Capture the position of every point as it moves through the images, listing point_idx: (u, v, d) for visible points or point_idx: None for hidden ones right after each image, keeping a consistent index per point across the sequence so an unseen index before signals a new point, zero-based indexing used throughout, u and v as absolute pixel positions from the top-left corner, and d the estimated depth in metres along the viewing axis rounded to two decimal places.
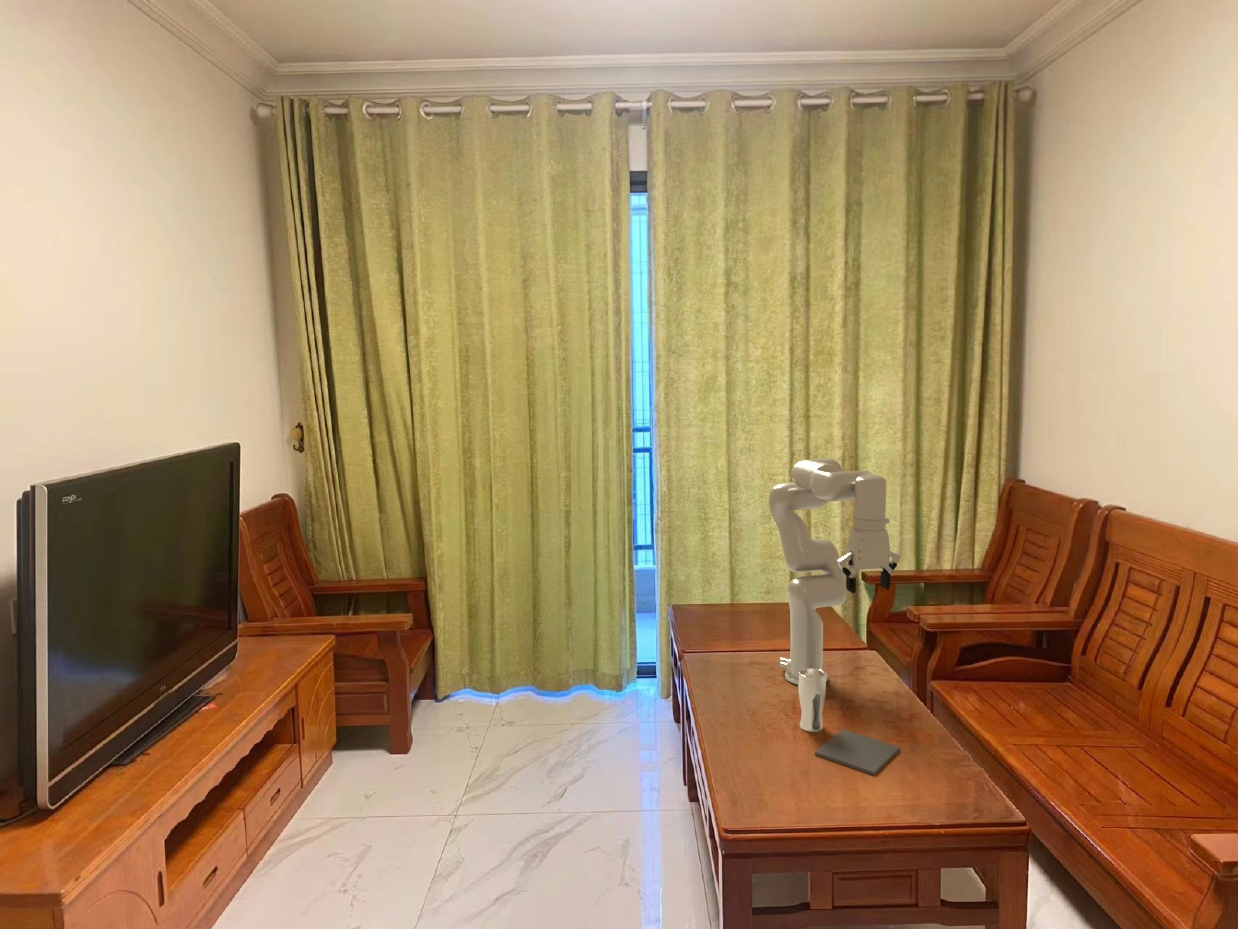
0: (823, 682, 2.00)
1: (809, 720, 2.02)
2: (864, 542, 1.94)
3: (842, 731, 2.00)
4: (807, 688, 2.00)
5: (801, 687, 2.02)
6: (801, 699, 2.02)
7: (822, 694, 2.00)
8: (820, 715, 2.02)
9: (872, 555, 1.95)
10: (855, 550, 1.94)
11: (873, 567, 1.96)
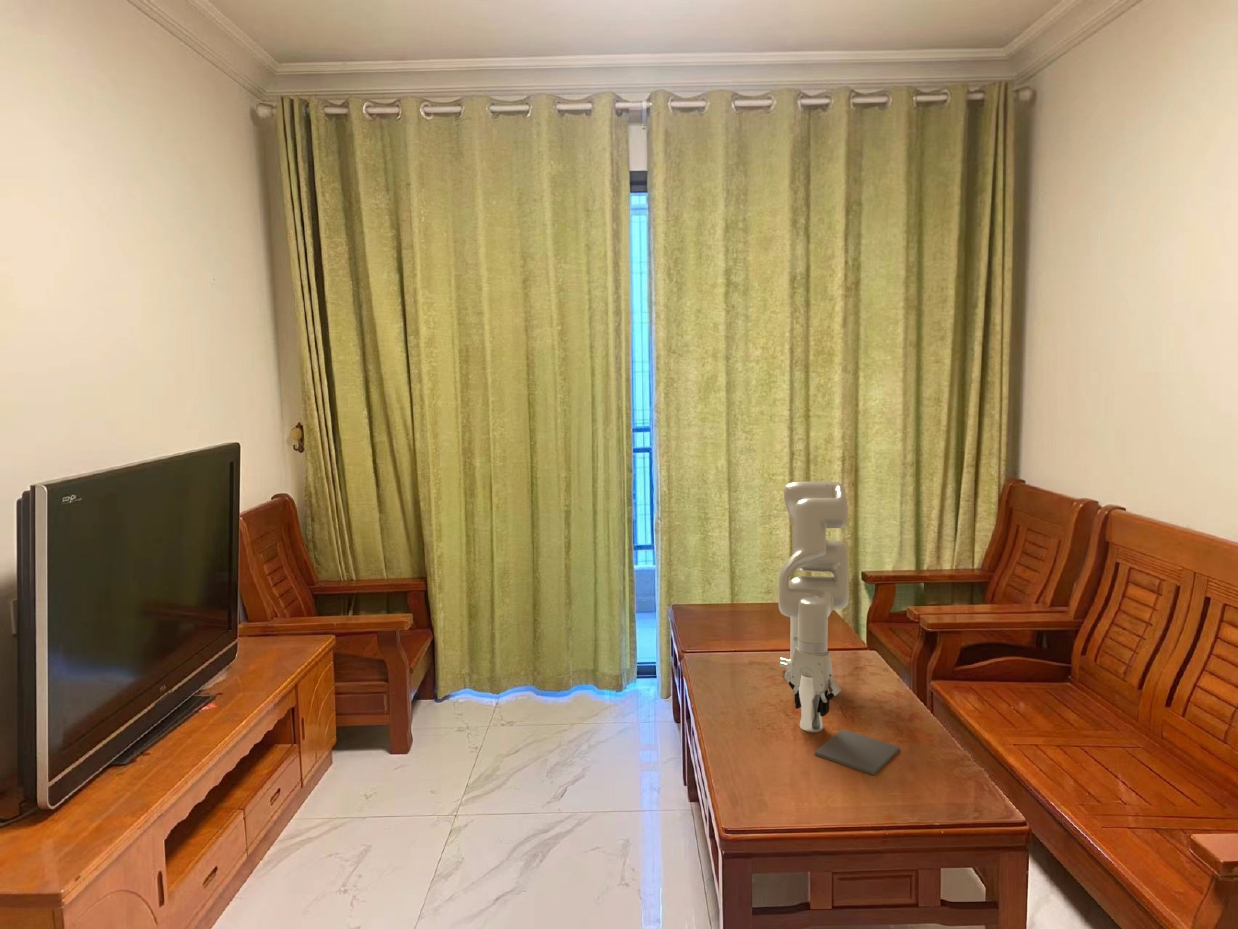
0: None
1: (809, 721, 2.02)
2: None
3: (842, 731, 2.00)
4: (807, 688, 2.00)
5: (801, 687, 2.02)
6: (801, 699, 2.02)
7: None
8: (820, 715, 2.02)
9: None
10: None
11: None
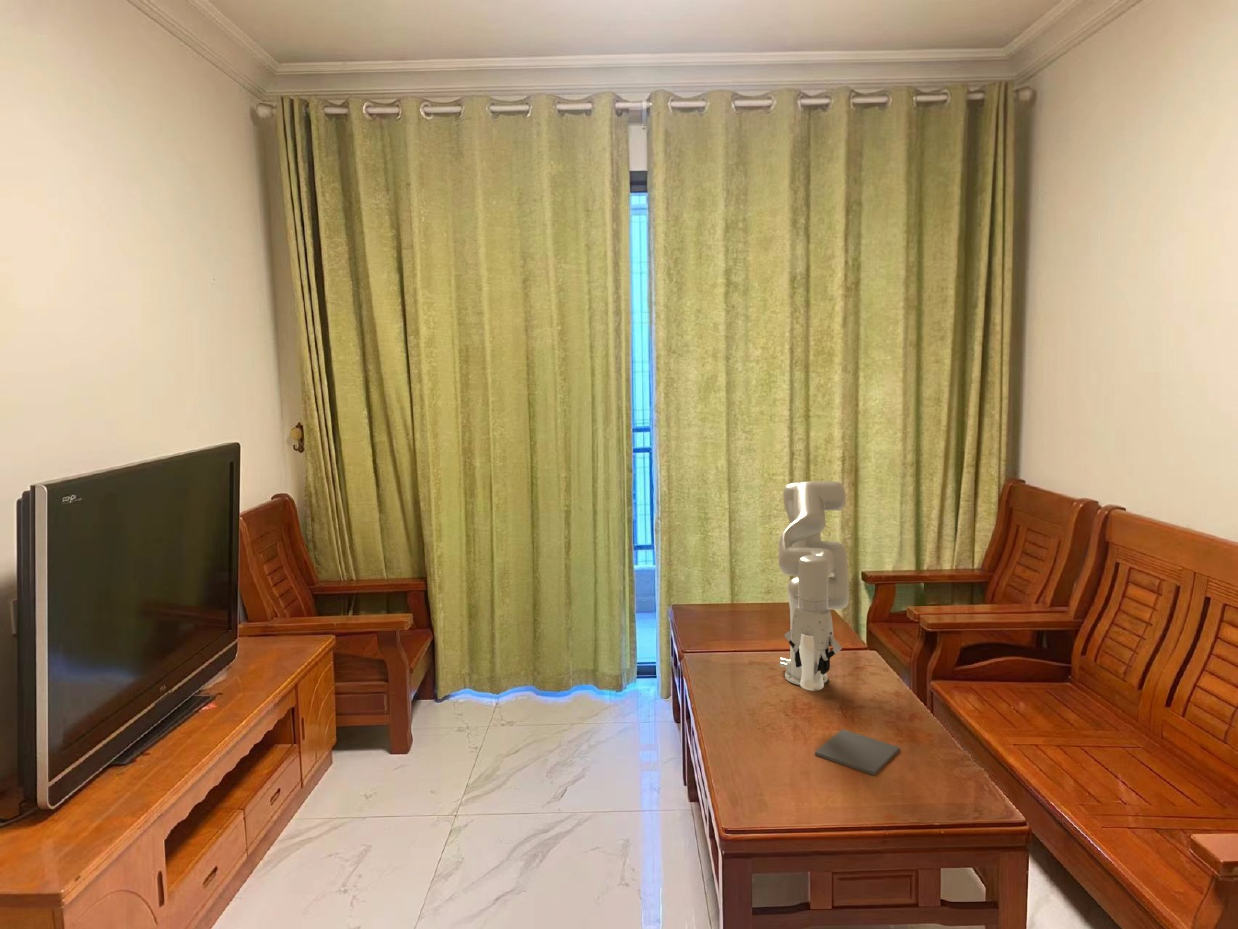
0: None
1: (809, 679, 2.01)
2: None
3: (842, 731, 2.00)
4: (807, 646, 1.99)
5: (801, 645, 2.00)
6: (801, 657, 2.01)
7: None
8: (820, 673, 2.01)
9: None
10: (832, 628, 1.99)
11: None
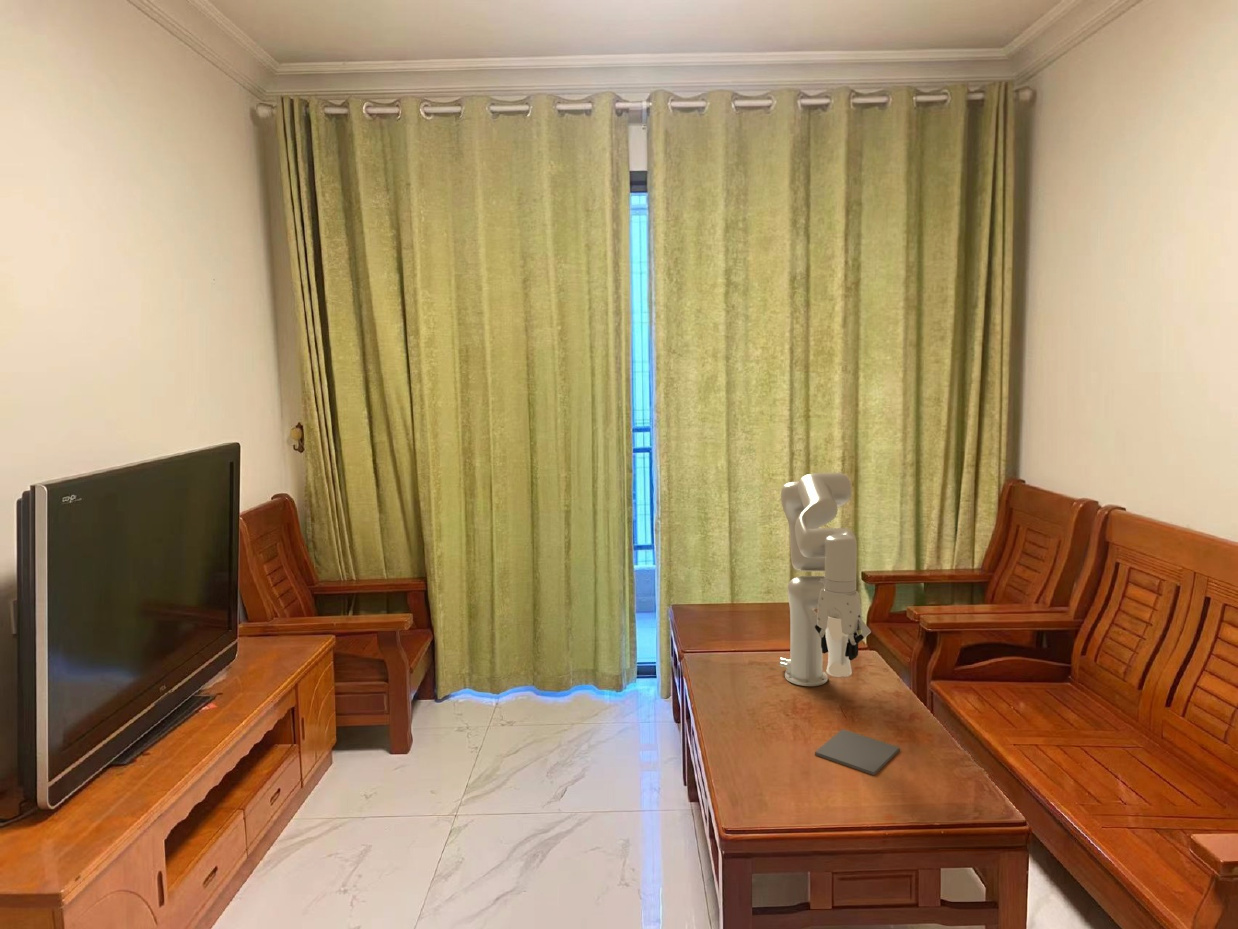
0: None
1: (836, 665, 1.91)
2: None
3: (842, 731, 2.00)
4: (834, 630, 1.89)
5: (828, 629, 1.91)
6: (828, 642, 1.92)
7: None
8: (848, 659, 1.91)
9: None
10: None
11: None
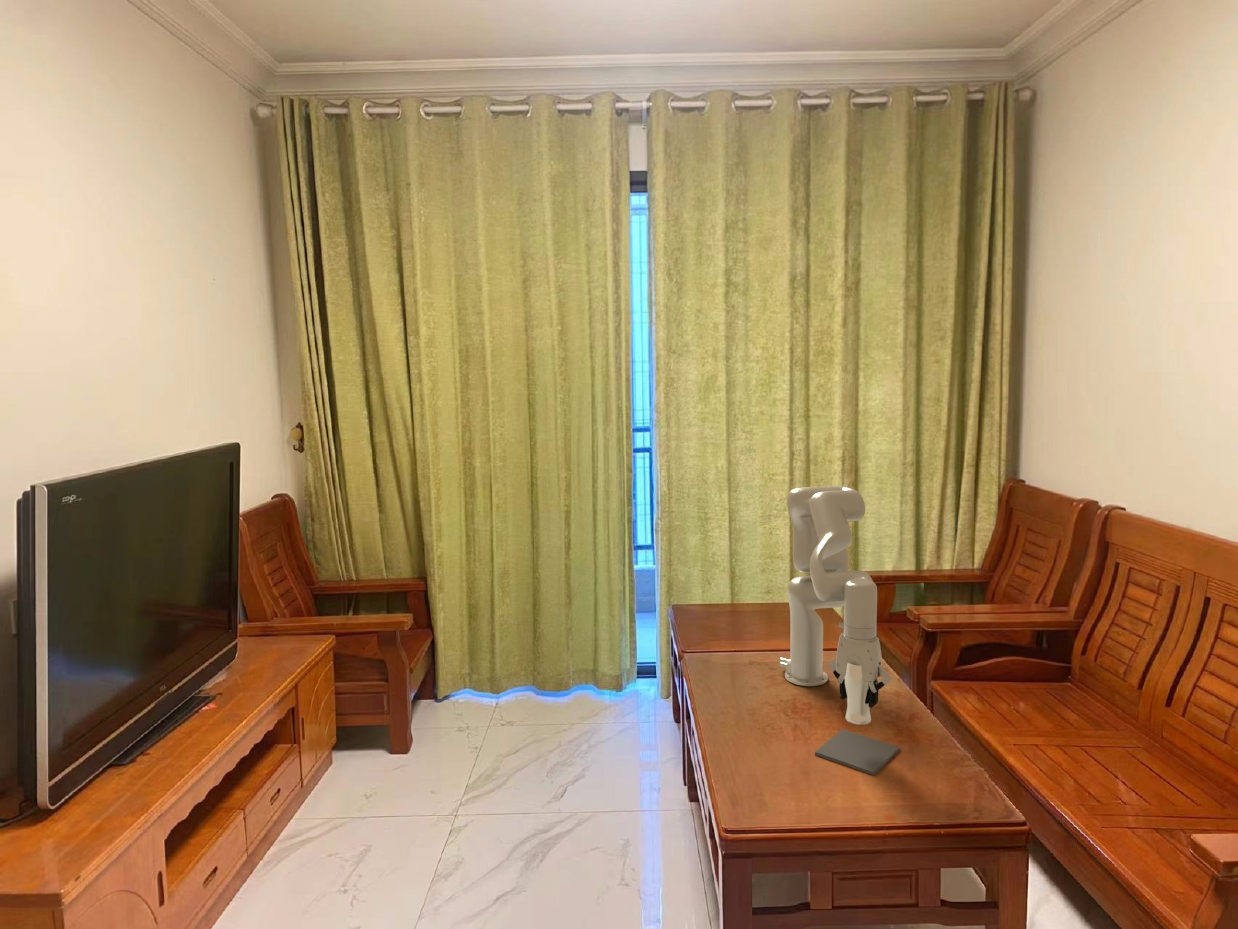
0: None
1: (856, 712, 1.87)
2: None
3: (842, 731, 2.00)
4: (854, 677, 1.85)
5: (848, 676, 1.87)
6: (847, 689, 1.87)
7: None
8: (868, 706, 1.87)
9: None
10: (881, 658, 1.85)
11: None
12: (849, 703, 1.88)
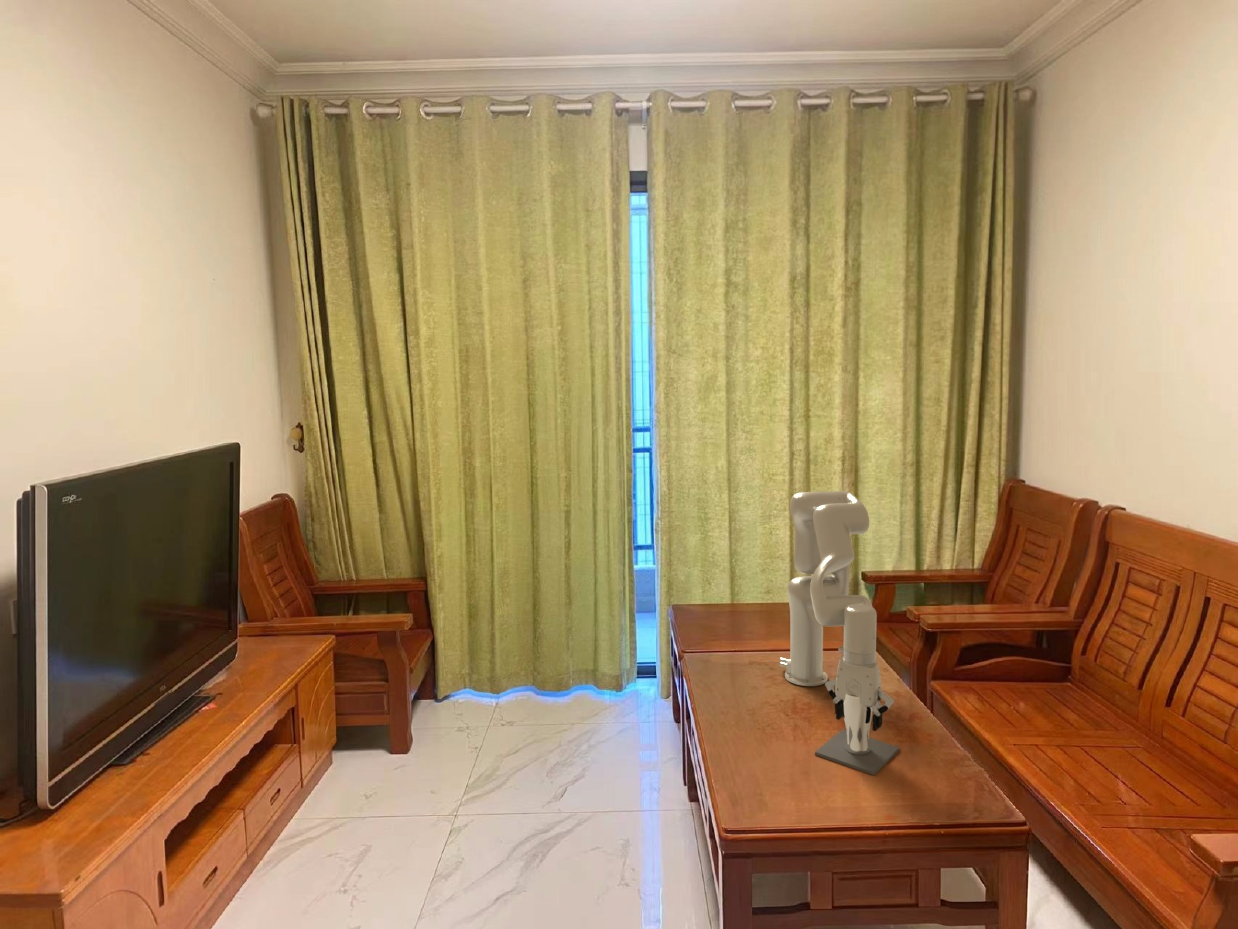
0: None
1: (855, 742, 1.89)
2: None
3: (842, 731, 2.00)
4: (853, 708, 1.87)
5: (846, 707, 1.88)
6: (846, 720, 1.89)
7: (869, 714, 1.87)
8: (867, 736, 1.89)
9: None
10: (880, 683, 1.86)
11: None
12: (848, 733, 1.89)
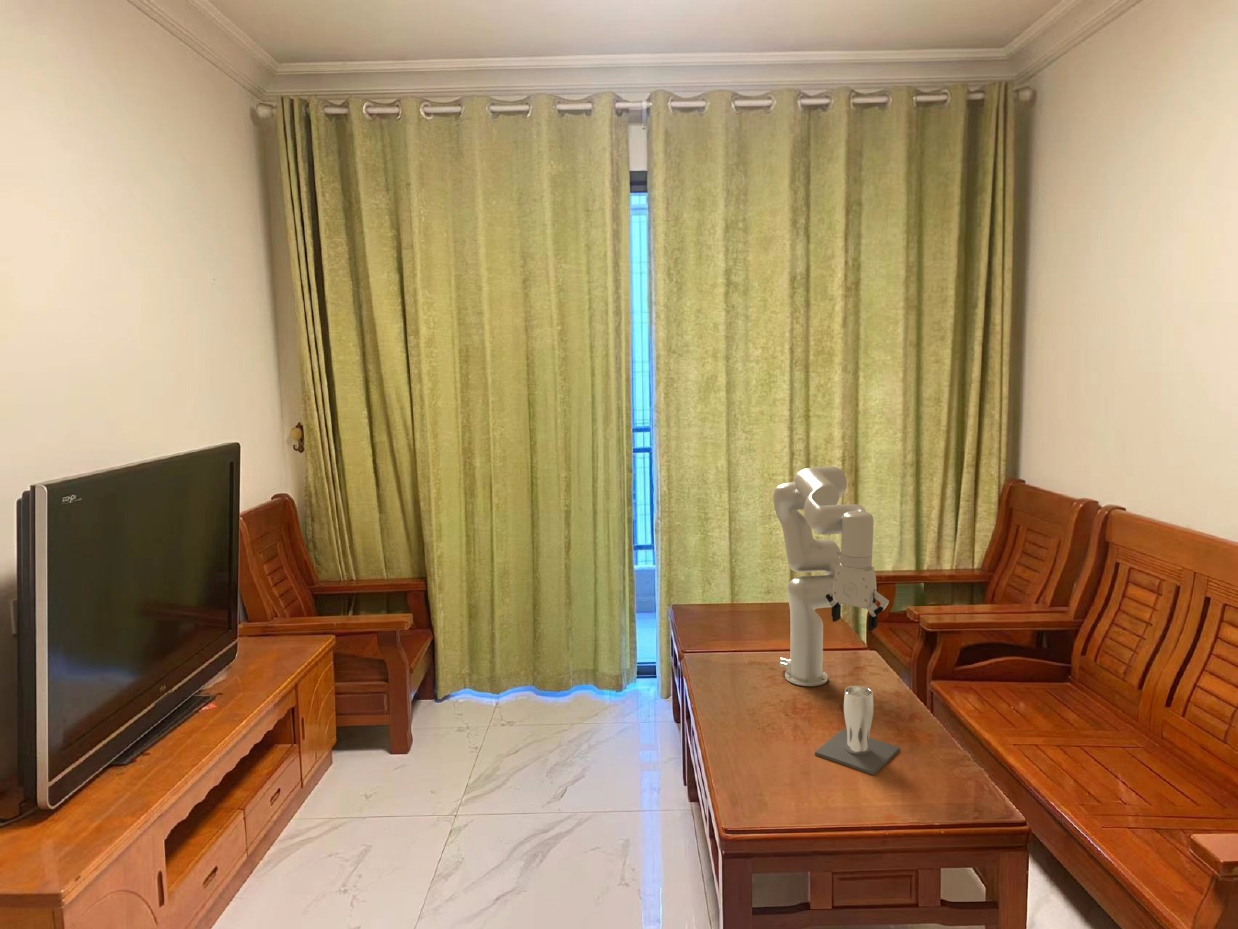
0: (871, 701, 1.87)
1: (855, 743, 1.89)
2: None
3: (842, 731, 2.00)
4: (854, 708, 1.87)
5: (847, 707, 1.88)
6: (847, 720, 1.89)
7: (870, 714, 1.87)
8: (867, 737, 1.89)
9: None
10: (876, 586, 1.94)
11: None
12: (849, 733, 1.89)
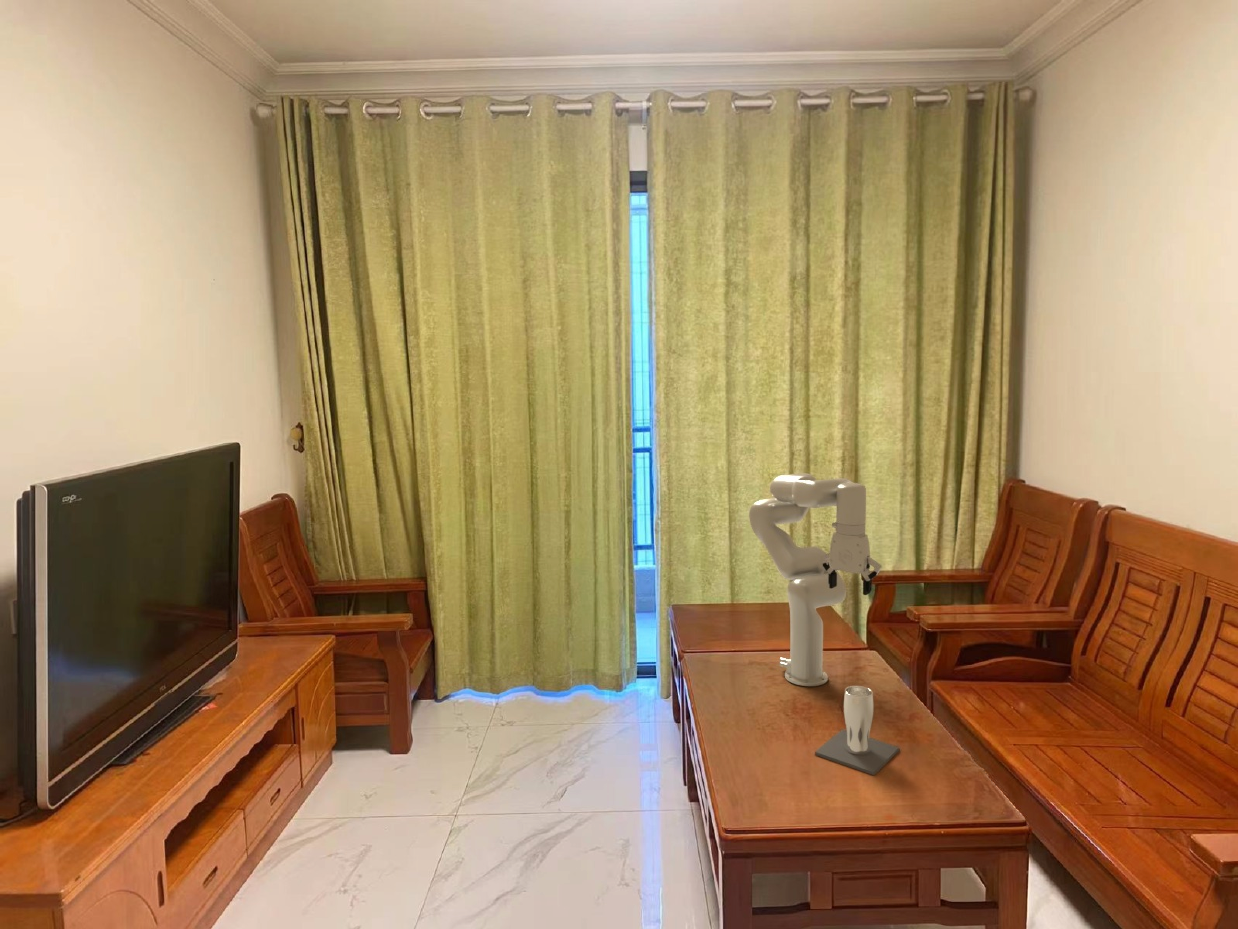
0: (871, 701, 1.87)
1: (855, 743, 1.89)
2: None
3: (842, 731, 2.00)
4: (854, 708, 1.87)
5: (847, 707, 1.88)
6: (847, 719, 1.89)
7: (870, 714, 1.87)
8: (867, 737, 1.89)
9: None
10: (869, 552, 2.08)
11: None
12: (849, 733, 1.89)
